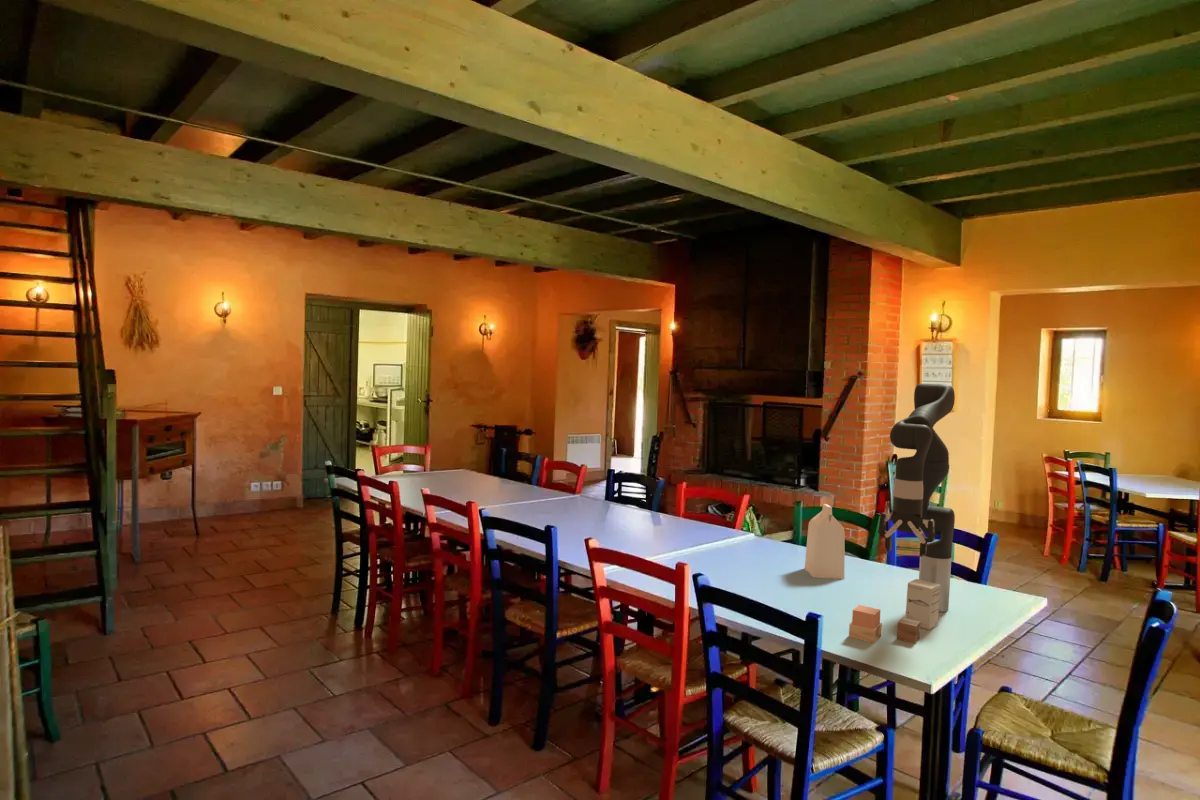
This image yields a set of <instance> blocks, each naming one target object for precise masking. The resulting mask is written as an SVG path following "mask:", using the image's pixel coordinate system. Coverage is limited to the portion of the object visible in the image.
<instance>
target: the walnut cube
mask: <svg viewBox="0 0 1200 800" xmlns="http://www.w3.org/2000/svg"><path fill="white" fill-rule="evenodd" d="M920 624H921V622H920V621H915V620H911V619H907V618H906V617H901V618H900V619H899V620H898V621H897V627H896V628H897V629H896V640H899V641H904V642H908V643H912V644H917V642H919V640H920V639H921V627H920Z"/></svg>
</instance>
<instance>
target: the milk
mask: <svg viewBox="0 0 1200 800" xmlns="http://www.w3.org/2000/svg"><path fill="white" fill-rule="evenodd" d="M832 508H833V507H832V506H831V505H829V504H827V503H823V505H822V510H821V511H820V512H819V513H817V514H816V515H815V516H813V517H812V518H811V519H810V520H809V522H808V527H807V529H808V530H807V538H806V539H807V540H806V546H805V547H806V548H805V559H804V570H805V571H807V573H808V574H809V575H810V576H811V577H813V578H817V579H818V578H819V579H820V578H822V579H838V580H839V579H842V580H844V579H845V575H846V573H845V572H846V571H845V561H846V560H845V554H846V551H845V543H846V542H845V528H844V526H843V525H842V524H841V522H839V520H837V519H836V518H835V517H834V515H833V509H832Z"/></svg>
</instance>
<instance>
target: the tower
mask: <svg viewBox="0 0 1200 800" xmlns="http://www.w3.org/2000/svg"><path fill="white" fill-rule="evenodd" d="M851 622H852V624H855V625H860V626H864V627H868V628H872V629H874V628H875V627H876V626H877V625H879V624H880V623H881V609H880V608H874V607H870V606H865V605H863V604H858V605H857V606H855V608H853V609H852V618H851Z"/></svg>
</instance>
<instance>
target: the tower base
mask: <svg viewBox="0 0 1200 800" xmlns="http://www.w3.org/2000/svg"><path fill="white" fill-rule="evenodd" d="M848 626H849V627H848V637H849V638H852V639H855V640H856V639H857V640H861V641H865V642H868V643H873V644H875V643H876V642H877V641H878V640H879V639H880V638H881V637H882V631H883V630H882V629H883V627H882V626H883V623H882V622H880V624H879V625H877V626H876V627H875V628H874V629H872V628H868V627H864V626H860V625H855V624H852V621H851V622H850V623H849V625H848Z"/></svg>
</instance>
